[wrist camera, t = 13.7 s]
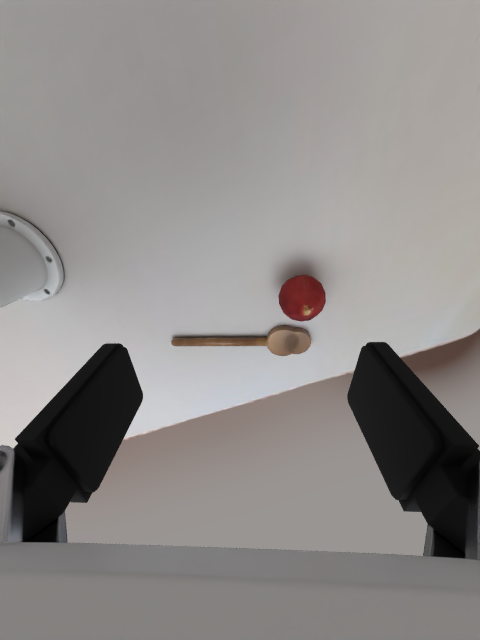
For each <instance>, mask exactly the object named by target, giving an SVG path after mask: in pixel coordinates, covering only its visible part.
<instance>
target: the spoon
mask: <svg viewBox="0 0 480 640" xmlns="http://www.w3.org/2000/svg"><path fill="white" fill-rule="evenodd" d="M171 343H172V345H173V346H267V347H268V349H269V350H270V351H271V352H272V353H273V354H275V355H279V356H287V355H290V354H300V353H303V352H305V351H306V350H307V349H308V348H309V347H310V344H311V339H310V336H309V334H308V332H307V331H306V330H304V329H302V328H292V327H289V326H278V327H275V328H273V329H272V330H271V331H270V332H269V333H268V335H267V337H224V338H173V339H172V341H171Z"/></svg>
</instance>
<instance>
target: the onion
mask: <svg viewBox="0 0 480 640" xmlns="http://www.w3.org/2000/svg"><path fill="white" fill-rule="evenodd" d="M325 302H326V300H325V291H324V289H323V286H322V284H321V283H320V282H319V281H317V280H316V279H315V278H314V277H312V276H308V275H300V276H295V277H293V278H291V279H289V280H287V281H286V282H285V283H284V285H283V286H282V288H281V290H280V293H279V304H280V306H281V308H282V310H283V312H284V314H286V315H287V316H288V317H289V318H291V319H293V320H297V321H308V320H311V319H312V318H314V317H315V316H317V315H318V314H319V313H320V312H321V311H322V309H323V307H324V305H325Z"/></svg>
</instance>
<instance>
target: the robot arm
mask: <svg viewBox="0 0 480 640" xmlns="http://www.w3.org/2000/svg"><path fill="white" fill-rule="evenodd" d="M63 279H64V276H63V268H62V263H61V261H60V259H59V256H58V254H57V253H56V251H55V249H54V247H53V246H52V245H51V243H50V242H49V241H48V240H47V238H46V237H45V236H44V235H43V234H42V233H41V232H40V231H39V230H37V229H36V228H35V227H34V226H32V225H31V224H30V223H28V222H26V221H25V220H23V219H22V218H20V217H17V216H15V215H13V214H10V213H6V212H2V211H0V308H1V307H3V306H6V305H8V304H10V303H12V302H14V301H16V300H18V299H24V300H28V301H40V300H45V299H47V298H50V297H51V296H53V295H55V294H56V293H57V292H58V291H59V290H60V288H61V286H62V284H63ZM142 399H143V393H142V390H141V387H140V384H139V381H138V379H137V376H136V373H135V370H134V367H133V365H132V362H131V359H130V356H129V353H128V350H127V348H125V347H123V345H122V344H104V345H103V346H102V347H101V348H100V349H99V350H98V351H97V352H96V353H95V354H94V355H93V356H92V357H91V358H90V359H89V360H88V361H87V363H86V364H85V365H84V366H83V367H82V368H81V369H80V370H79V371H78V372H77V373H76V374H75V375H74V376H73V377H72V379H71V380H70V381H69V382H68V383H67V384H66V385H65V386H64V387H63V388H62V389H61V390H60V391H59V392H58V393H57V395H56V396H55V397H54V398H53V399H52V400H51V401H50V402H49V403H48V404H47V405H46V406H45V407H44V408H43V410H42V411H41V412H40V413H39V414H38V415H37V416H36V417H35V418H34V419H33V420H32V421H31V422H30V423H29V424H28V426H27V427H26V428H25V429H24V430H23V431H22V432H21V433H20V434H19V435H18V436H17V437H16V438H15V440H16V441H17V442H18V444H17V445H16V446H15V448H14V449H12V448H11V447H10V446H4V445H2V446H0V640H480V451H479V450H478V449H477V448H478V447H479V445H478V444H477V443H476V442H475V441H474V440H473V438H472V437H471V436H470V435H469V434H468V433H467V432H466V431H465V430H464V429H463V427H462V426H461V425H460V424H459V423H458V422H457V421H456V420H455V419H454V418H453V416H452V415H451V414H450V413H449V412H448V411H447V410H446V408H444V406H443V405H442V404H441V403H440V402H439V401H438V400H437V398H436V397H435V396H434V395H433V394H432V393H431V392H430V391H429V389H427V387H426V386H425V385H424V384H423V383H422V382H421V381H420V380H419V378H418V377H417V376H416V375H415V374H414V373H413V372H412V371H411V369H410V368H409V367H408V366H407V365H406V364H405V363H404V362H403V361H402V359H401V358H400V357H399V356H398V355H397V354H396V353H395V352H394V351H393V349H392V348H391V347H390V346H389V345H388V344H387V343H385V342H369V343H367V344H366V346H363V347H362V349H361V352H360V355H359V358H358V362H357V365H356V368H355V371H354V375H353V378H352V382H351V385H350V388H349V391H348V403H349V405H350V407H351V409H352V411H353V414H354V416H355V418H356V420H357V422H358V424H359V426H360V429H361V431H362V433H363V435H364V437H365V439H366V441H367V443H368V445H369V448H370V450H371V452H372V454H373V456H374V458H375V461H376V463H377V465H378V467H379V469H380V471H381V473H382V476H383V478H384V480H385V482H386V484H387V486H388V489H389V491H390V493H391V495H392V496H393V497H394V498H395V499H396V500H399V502H400V504H401V506H402V508H403V510H404V511H413V512H422V514H423V516H424V518H425V519H426V521H427V523H428V526H427V533H426V540H425V546H424V553H423V556H413V555H397V554H376V553H351V552H327V551H302V550H277V549H249V548H221V547H191V546H190V547H189V546H162V545H128V544H97V543H96V544H95V543H67V531H66V519H65V509H66V507H67V506H68V504H69V502H82V503H87V502H88V500H89V498H90V496H91V494H92V492H95V491H96V490H97V489H98V488H99V486H100V484H101V482H102V480H103V478H104V476H105V474H106V472H107V470H108V468H109V466H110V464H111V462H112V460H113V458H114V456H115V454H116V452H117V450H118V448H119V446H120V444H121V442H122V440H123V438H124V436H125V434H126V432H127V430H128V428H129V426H130V424H131V422H132V420H133V418H134V416H135V414H136V412H137V410H138V408H139V406H140V404H141V402H142Z"/></svg>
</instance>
